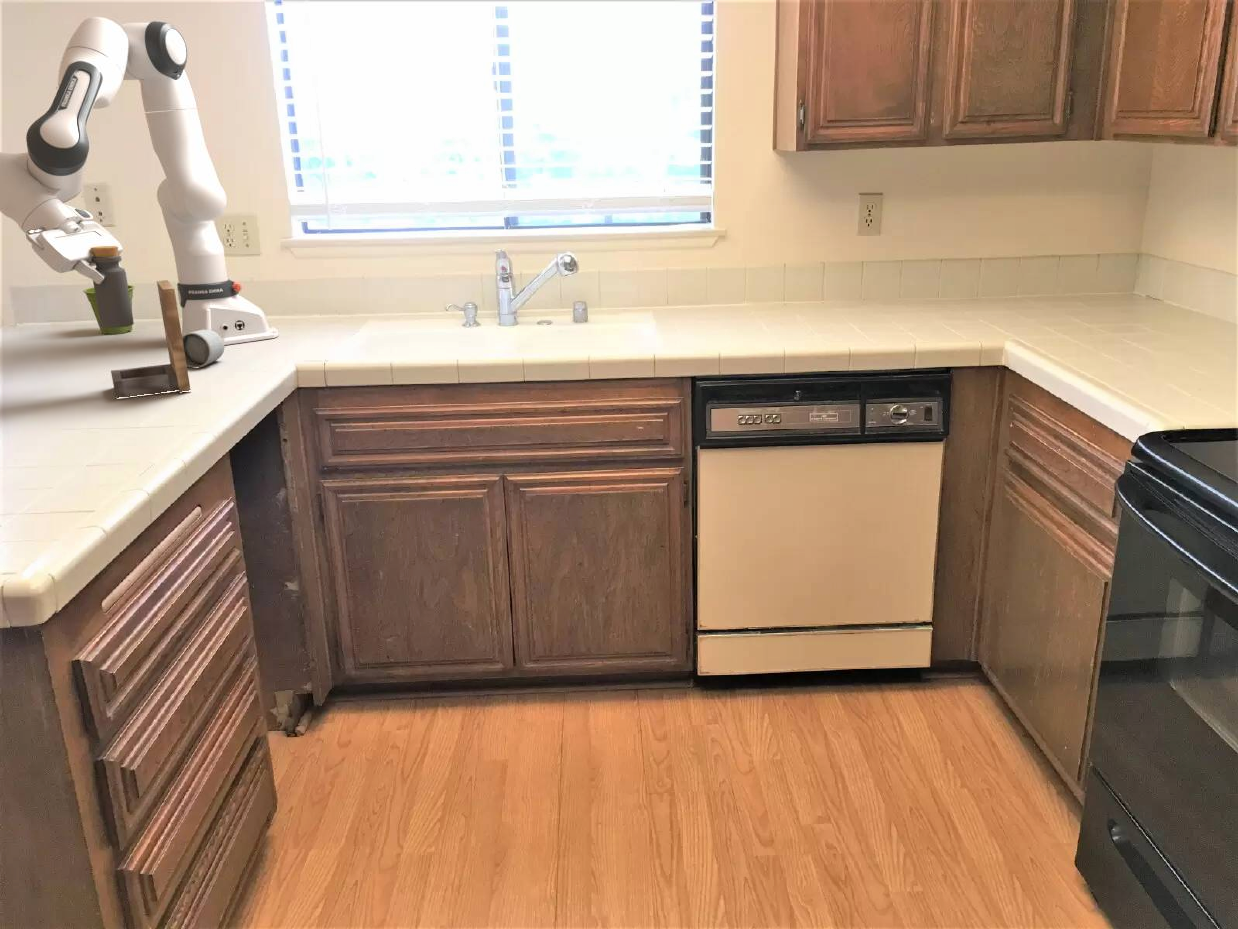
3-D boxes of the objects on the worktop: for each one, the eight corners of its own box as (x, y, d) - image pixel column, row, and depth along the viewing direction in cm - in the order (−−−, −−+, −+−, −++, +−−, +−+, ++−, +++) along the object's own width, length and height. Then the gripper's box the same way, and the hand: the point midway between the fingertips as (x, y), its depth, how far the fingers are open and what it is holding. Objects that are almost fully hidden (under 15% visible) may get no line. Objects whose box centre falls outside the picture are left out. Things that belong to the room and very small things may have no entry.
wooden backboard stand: (183, 377, 206) (167, 280, 200) (190, 392, 195) (174, 288, 188) (113, 386, 201) (95, 285, 194) (117, 401, 189) (97, 295, 183)
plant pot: (82, 334, 256) (73, 289, 253) (126, 326, 266) (118, 283, 262) (107, 338, 250) (98, 293, 246) (151, 330, 259) (143, 286, 256)
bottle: (108, 323, 198) (95, 245, 193) (138, 322, 198) (126, 244, 193) (95, 328, 192) (81, 248, 187) (126, 327, 192) (113, 247, 188)
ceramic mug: (229, 359, 223) (223, 325, 220) (212, 368, 215) (206, 332, 212) (182, 361, 223) (176, 326, 221) (165, 369, 216) (158, 334, 213)
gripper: (29, 218, 179) (92, 273, 182) (92, 210, 198) (148, 260, 201) (10, 244, 181) (73, 298, 183) (74, 233, 200) (130, 282, 203)
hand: (113, 278), depth 192 cm, fingers closed on bottle, 6 cm apart
